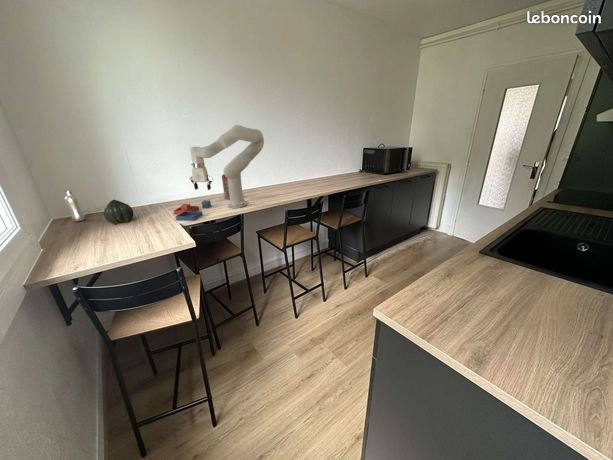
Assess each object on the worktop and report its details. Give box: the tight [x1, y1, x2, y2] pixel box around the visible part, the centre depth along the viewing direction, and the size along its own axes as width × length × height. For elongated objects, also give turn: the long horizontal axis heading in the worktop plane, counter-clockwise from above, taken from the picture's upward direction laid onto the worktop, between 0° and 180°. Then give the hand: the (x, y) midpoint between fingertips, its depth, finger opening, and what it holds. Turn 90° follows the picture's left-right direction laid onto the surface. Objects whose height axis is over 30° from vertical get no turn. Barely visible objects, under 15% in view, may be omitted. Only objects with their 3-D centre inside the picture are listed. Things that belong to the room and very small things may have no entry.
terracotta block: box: [180, 203, 192, 211], centre depth 177 cm, size 4×4×4 cm
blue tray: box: [175, 210, 204, 222], centre depth 166 cm, size 12×11×2 cm
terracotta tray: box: [173, 205, 200, 215], centre depth 177 cm, size 12×11×2 cm
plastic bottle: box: [63, 189, 86, 223], centre depth 159 cm, size 6×7×20 cm
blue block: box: [201, 199, 212, 209], centre depth 186 cm, size 4×4×4 cm
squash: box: [103, 199, 134, 225], centre depth 158 cm, size 14×15×15 cm
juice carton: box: [221, 173, 230, 201], centre depth 205 cm, size 7×7×22 cm
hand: (203, 189), depth 182 cm, fingers open, 9 cm apart
